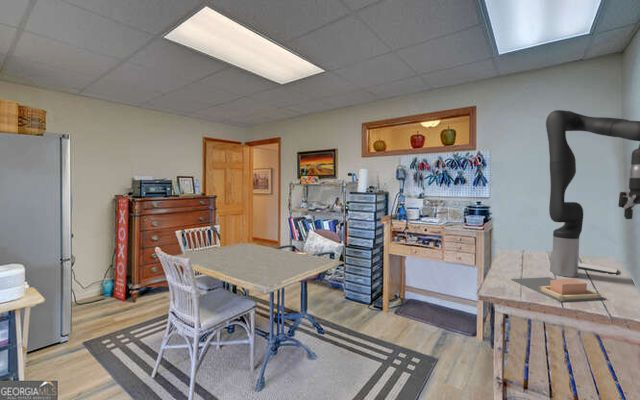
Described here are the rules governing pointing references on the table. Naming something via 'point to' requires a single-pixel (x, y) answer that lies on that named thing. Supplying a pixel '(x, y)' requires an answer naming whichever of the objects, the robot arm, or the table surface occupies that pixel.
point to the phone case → (597, 268)
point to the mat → (544, 287)
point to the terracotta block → (568, 286)
